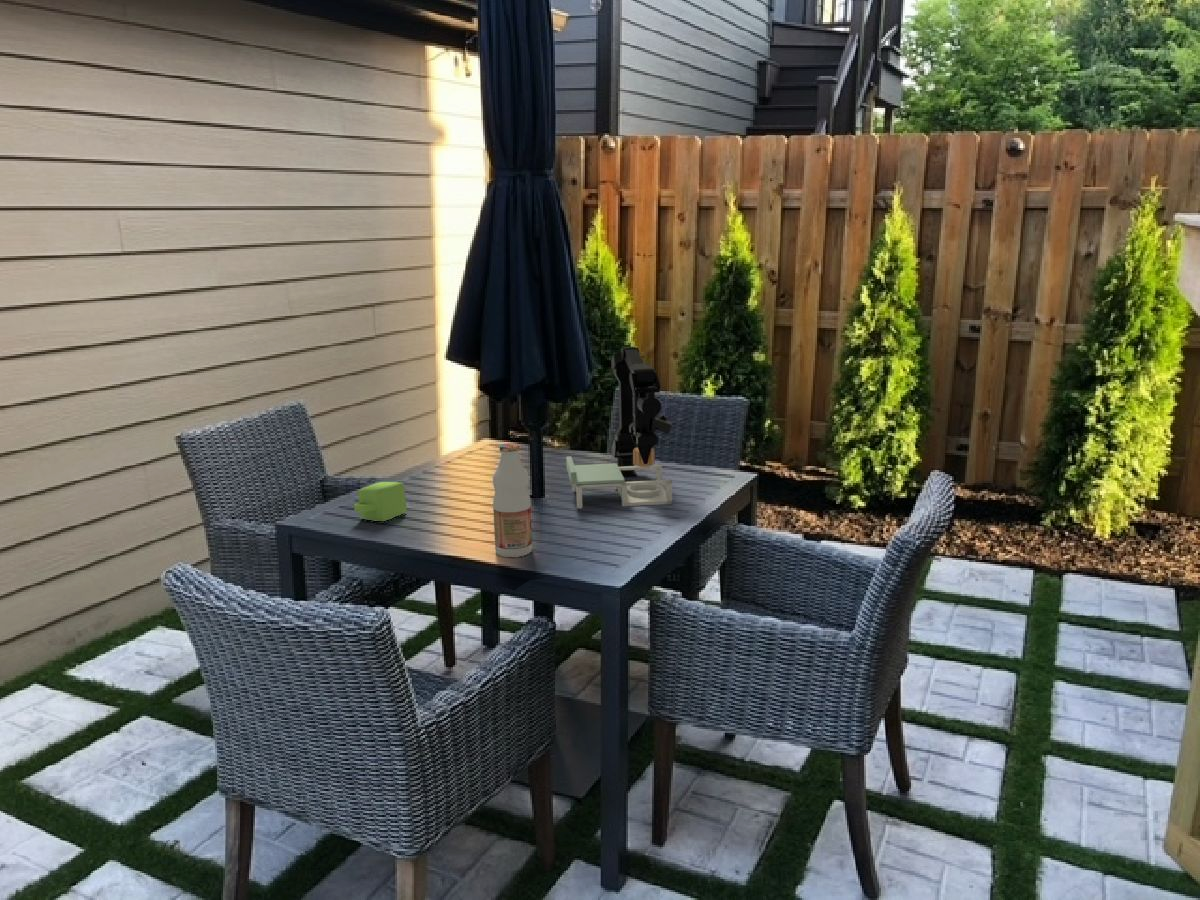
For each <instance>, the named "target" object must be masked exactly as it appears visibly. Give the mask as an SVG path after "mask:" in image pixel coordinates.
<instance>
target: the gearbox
mask: <svg viewBox="0 0 1200 900" xmlns="http://www.w3.org/2000/svg"><path fill="white" fill-rule="evenodd" d="M357 496H358V497H357V498H358V502H357V503H355V504H353V508H354V509H353V510H354V512H359V513H360V519H361V518H366V519H371V520H377V521H385V520H388V519H390V518H392V517H395V516H398V515H400V514H403V513H404V512H407V513H408V511H407V509H408V508H407V498H406V489H405V483H404V482H401V481H400V482H399V481H398V482H397V481H378V482H376V483H373V484H370V485H367V486H365V487H363V488H360V489H358V490H357ZM403 515H404V514H403Z"/></svg>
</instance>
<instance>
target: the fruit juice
mask: <svg viewBox="0 0 1200 900" xmlns="http://www.w3.org/2000/svg"><path fill="white" fill-rule="evenodd" d="M520 448H521V447H520V445H519V444H518V443H512V442H511V443H503V444H500V445H499V453H500V458H499V462H498V465H497V467H496V470H495V472H494V474H493V476H492V485H493V488H494V495H493V498H492V509H493V511H492V512H493V528H494V530H493V531H494V549H495V553H496V555H498V556H499V555H500V557H502V556H504V557H503V558H508V557H516V558H520V557H519V556H522V557H524V555H526V556H527V554H528V555H529V553H530V552H532V551H533V532H532V530H533V529H532V505H531V504H532V503H531V496H530V493H529V489H528V488H529V484H530V477H529V473H528V472H527V470H526V469H525V468H524V466H523V464H522V462H521V459H520V458H521V457H520V455H519V452H520ZM530 554H531V553H530Z"/></svg>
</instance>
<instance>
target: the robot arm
mask: <svg viewBox="0 0 1200 900" xmlns="http://www.w3.org/2000/svg"><path fill="white" fill-rule="evenodd" d="M639 352H640V349H639V347H637V346H623V347H622V348H621V349H620V351H617V352H616V353H614V354H613V355H612V357H611V362H610V363H611V366H610V367H611V369H612V370H613V371H612V372H613V375H614V377H615V378H616V380H617V381H618V414H619V415H618V417H619V418H618V419H619V425H618V428H617V430H616V431H615V433H614V439H613V442H612V445H611V456H612V457H613V458H614V459H616V463H617V465H618V467H624V466H635V464H633V449H634V448H637V447H638V450H639V452H640V455H641V458H642V460H643V463H644V464H647V463H648V460H649V456H650V452H651V448H652V449H653V447H654V446H656V445H659V444H660V437H659V436H658V435H657V434H656V431H657V432H662V433H664V434H666V435H670V433H671V431H672V428H673V425H674V424H673V423H672V422H671V421H669V420H667V416H665V415H663V414H660V415H659V413H661V411H662V403H661V401H660V400H659V399H658V398H657V397H656V395H655V394H658V393H660V392H661V391H660V390H661V383H660V379H659V375H658V374H657V371H655V369H654V367H652V365H649V364H646V363H645V362H644V359H643V358H642V357H641V354H640V353H639ZM658 415H659V416H658ZM657 416H658V417H657ZM620 471H621V473H622V476H623V477H634V476H638V474H637V471H636V470H620Z"/></svg>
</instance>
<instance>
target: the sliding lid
mask: <svg viewBox="0 0 1200 900" xmlns="http://www.w3.org/2000/svg"><path fill="white" fill-rule="evenodd" d="M565 462H566V470H567V474H568V478H569V482H570V484H571V485H572V484H598V483H619V482H626V481H625V480H626V479H625V478H624V476H622V473H621V471H620V469H619V467H618V465H617V462H616V463H598V464H597V463H595V464H594V463H593V464H575V463H574V461H573V457H572V456H571V455H569V456H566V457H565Z"/></svg>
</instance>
